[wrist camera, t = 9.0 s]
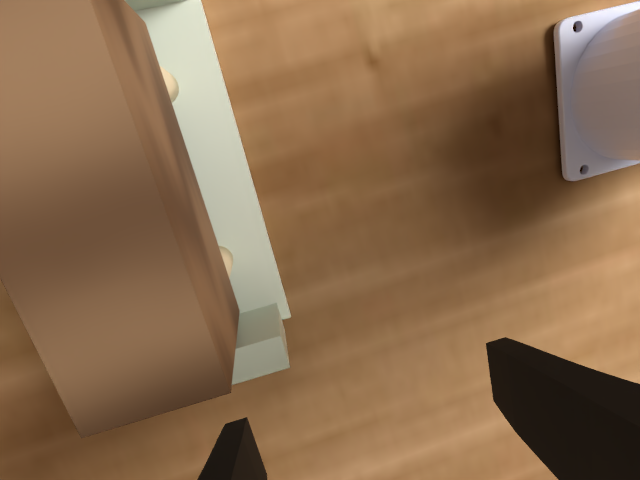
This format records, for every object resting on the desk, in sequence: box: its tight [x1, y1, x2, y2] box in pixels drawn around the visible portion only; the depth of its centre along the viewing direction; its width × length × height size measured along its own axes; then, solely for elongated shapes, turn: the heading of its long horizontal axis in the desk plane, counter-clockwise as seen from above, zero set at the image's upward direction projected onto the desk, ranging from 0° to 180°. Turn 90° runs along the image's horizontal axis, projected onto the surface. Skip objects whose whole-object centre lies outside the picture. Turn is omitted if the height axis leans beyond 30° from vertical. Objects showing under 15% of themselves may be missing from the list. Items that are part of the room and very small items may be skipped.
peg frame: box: [124, 0, 291, 385], centre depth 16 cm, size 17×8×4 cm, turn 13°
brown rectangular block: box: [0, 0, 240, 438], centre depth 13 cm, size 12×4×6 cm, turn 13°
